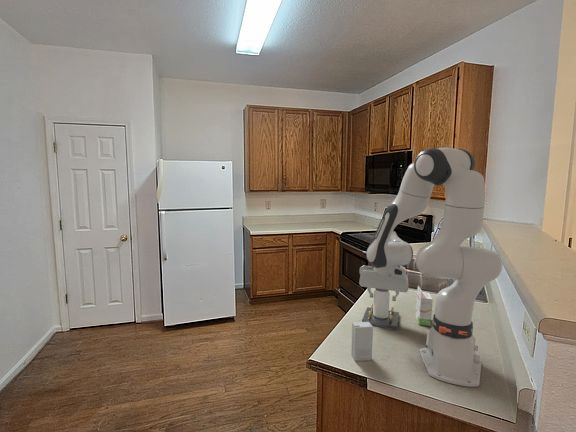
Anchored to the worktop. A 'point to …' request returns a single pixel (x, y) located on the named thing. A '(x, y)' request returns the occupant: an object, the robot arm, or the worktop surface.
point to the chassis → (386, 323)
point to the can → (381, 303)
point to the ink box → (423, 308)
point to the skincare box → (362, 341)
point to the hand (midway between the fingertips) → (382, 298)
